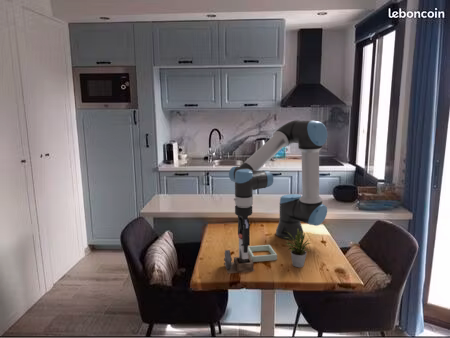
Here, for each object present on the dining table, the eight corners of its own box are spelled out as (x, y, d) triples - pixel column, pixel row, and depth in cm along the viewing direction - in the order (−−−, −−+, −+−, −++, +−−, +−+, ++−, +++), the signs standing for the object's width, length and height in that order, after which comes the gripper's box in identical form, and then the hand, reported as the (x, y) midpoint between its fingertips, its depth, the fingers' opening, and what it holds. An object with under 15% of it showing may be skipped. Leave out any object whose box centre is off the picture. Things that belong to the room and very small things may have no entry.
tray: (269, 252, 169) (269, 244, 168) (276, 262, 158) (277, 254, 157) (247, 254, 167) (247, 246, 166) (252, 264, 156) (252, 256, 155)
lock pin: (247, 263, 154) (247, 232, 151) (249, 268, 149) (249, 236, 146) (237, 264, 153) (237, 232, 150) (239, 269, 149) (239, 236, 146)
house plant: (279, 256, 164) (280, 224, 161) (308, 256, 164) (309, 224, 161) (283, 270, 150) (284, 236, 147) (314, 271, 150) (316, 236, 147)
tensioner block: (249, 263, 157) (249, 244, 155) (254, 274, 147) (255, 253, 145) (222, 266, 155) (222, 246, 153) (226, 276, 145) (226, 256, 143)
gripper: (231, 199, 154) (231, 247, 159) (239, 212, 136) (239, 265, 140) (247, 199, 155) (246, 246, 160) (257, 211, 137) (257, 264, 142)
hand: (243, 255), depth 150 cm, fingers open, 6 cm apart
